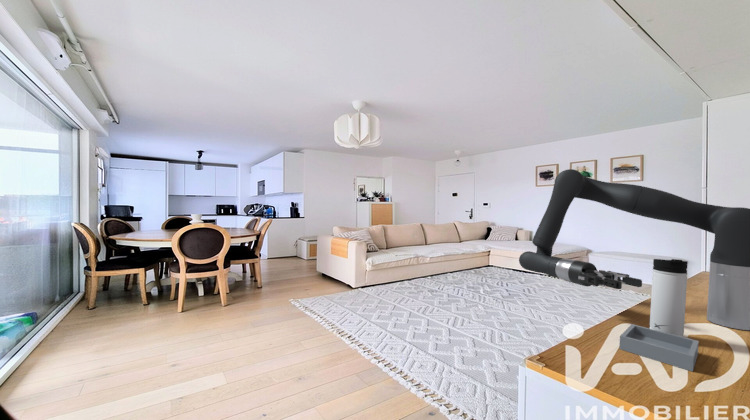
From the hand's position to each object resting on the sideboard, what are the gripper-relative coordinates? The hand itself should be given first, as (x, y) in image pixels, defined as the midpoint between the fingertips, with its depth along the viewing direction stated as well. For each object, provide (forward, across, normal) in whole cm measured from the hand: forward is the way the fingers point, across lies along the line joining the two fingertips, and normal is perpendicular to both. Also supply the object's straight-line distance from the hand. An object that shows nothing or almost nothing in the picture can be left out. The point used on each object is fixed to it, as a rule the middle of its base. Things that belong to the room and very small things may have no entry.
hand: (631, 284), depth 85 cm
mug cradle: (+13, -12, +11) cm, 21 cm away
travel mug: (+8, 0, +11) cm, 14 cm away
